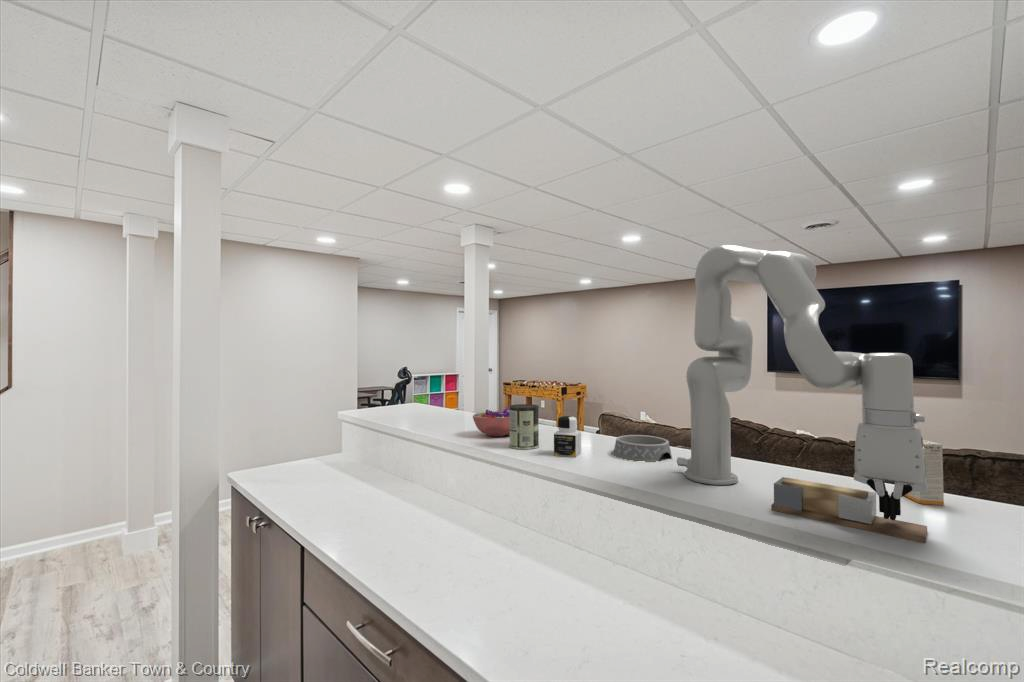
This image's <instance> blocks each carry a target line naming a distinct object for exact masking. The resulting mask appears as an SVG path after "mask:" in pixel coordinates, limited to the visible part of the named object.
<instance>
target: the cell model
mask: <svg viewBox="0 0 1024 682" xmlns="http://www.w3.org/2000/svg"><path fill="white" fill-rule="evenodd" d="M472 419H473V421H474V424H475V427H476V428H477V429H478V431H479V432H481V433H482V434H484V435H485V436H489V437H505V435H507V436H510V408H509V406H507V405H505V406H504V409H503V410H502V411H499V410H497V411H493V410H490V409H485V411H484V412H483V411H482V412H479V413H478V412H477V413H475V414H473V415H472Z"/></svg>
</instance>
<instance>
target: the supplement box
mask: <svg viewBox="0 0 1024 682" xmlns="http://www.w3.org/2000/svg"><path fill="white" fill-rule="evenodd" d="M923 444H924V453H925V464H926V476H925V480H926V483H927V486H928V490H927V491H911V492H909V493H908V494H906V495H904V496H903V497H906V498H908V499H910V500H912V501H913V502H916V503H918V504H923V505H937V506H944V503H945V502H944V501H945V499H944V496H945V495H944V494H945V493H944V461H943V457H944V455H943V454H944V453H943V452H944V451H943V444H941V443H937V442H934V441H929V440H927V439H923ZM904 484H906V483H904Z"/></svg>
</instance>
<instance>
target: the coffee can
mask: <svg viewBox="0 0 1024 682" xmlns="http://www.w3.org/2000/svg"><path fill="white" fill-rule="evenodd" d="M508 407H509V408H510V435H509V448H511V449H513V450H514V449H515V450H521V449H522V450H523V451H524V450H525V451H527V450H534V449H538V448H539V446H540V445H539V442H540V441H539V436H540V435H539V419H540V418H539V408H540V406H539V405H537V404H531V403H530V404H529V403H528V404H525V403H523V404H511V405H509V406H508Z"/></svg>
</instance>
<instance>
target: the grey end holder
mask: <svg viewBox="0 0 1024 682" xmlns="http://www.w3.org/2000/svg"><path fill="white" fill-rule="evenodd" d="M785 478H786V477H784V476H782V477H781V478H779V479H778V480H777V481H776V482H774V483H773V503H774V506H779V507H784V508H789V509H793V510H798V511H802V510H803V488H802V487H796V486H791V485H785V484H782V480H784V479H785Z"/></svg>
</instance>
